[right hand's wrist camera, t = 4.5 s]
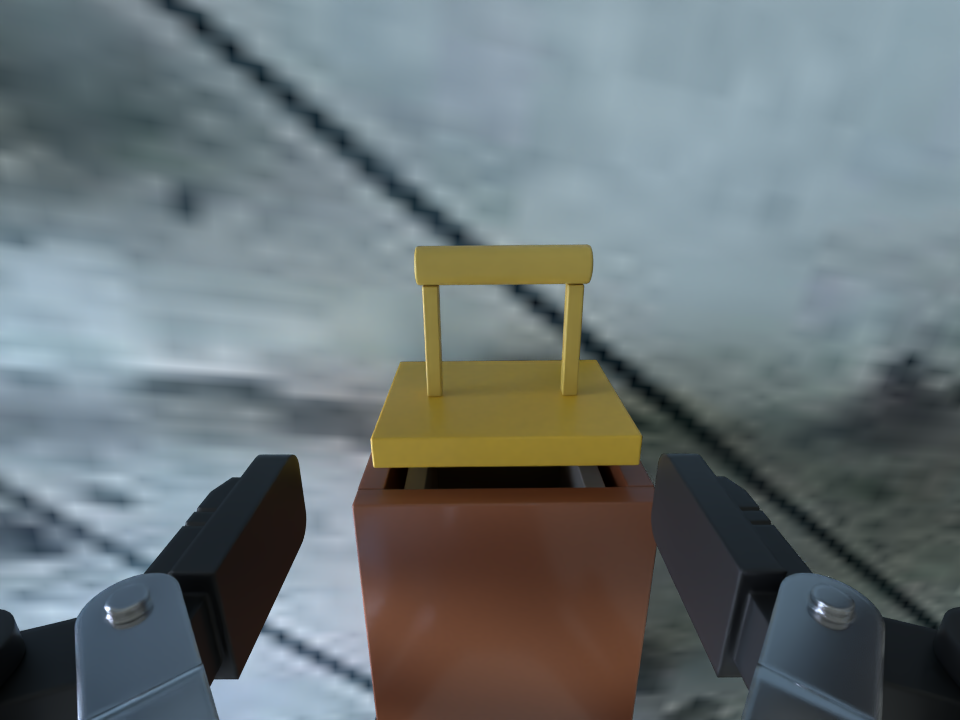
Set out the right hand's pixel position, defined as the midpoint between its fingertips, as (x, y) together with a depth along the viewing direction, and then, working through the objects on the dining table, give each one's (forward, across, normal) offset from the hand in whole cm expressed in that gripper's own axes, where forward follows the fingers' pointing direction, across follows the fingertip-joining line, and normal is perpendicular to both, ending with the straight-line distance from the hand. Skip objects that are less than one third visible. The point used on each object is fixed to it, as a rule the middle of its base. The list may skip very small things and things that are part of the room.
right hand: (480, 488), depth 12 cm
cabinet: (+14, +1, -14) cm, 20 cm away
